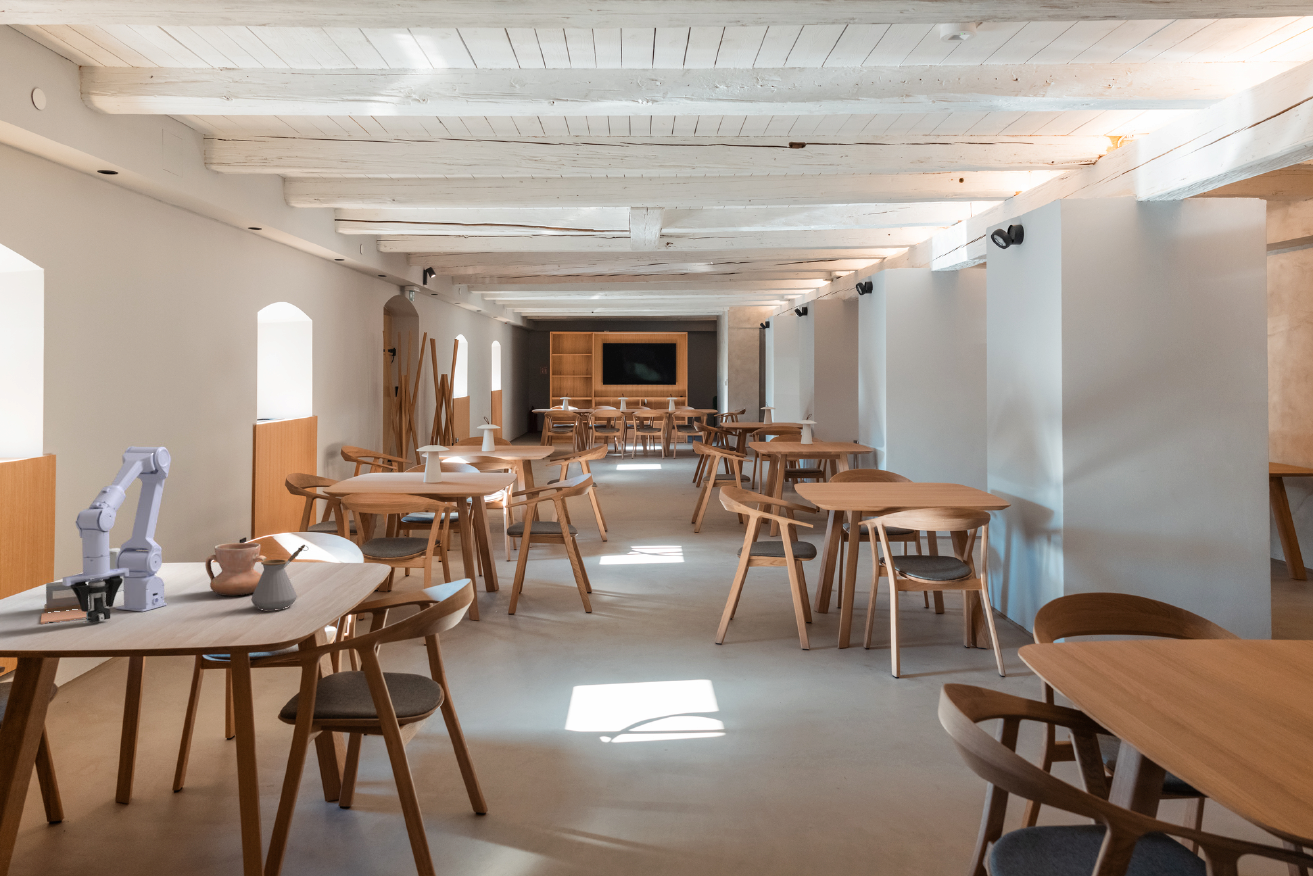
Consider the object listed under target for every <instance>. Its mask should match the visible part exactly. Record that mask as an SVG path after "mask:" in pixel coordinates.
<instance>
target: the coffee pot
mask: <svg viewBox="0 0 1313 876" xmlns="http://www.w3.org/2000/svg"><path fill="white" fill-rule="evenodd" d="M305 547H306V548H307V549H305ZM308 550H309V546H308V545H305V544H302V545H301V546H300V547H298V549H297V550H295V551H294V552H293V554H292V555H291V556H290V557H289V558H288V560H286V559H267V560H266V559H265V560H264V561H261V562H260V563H261V564H260V565H262V566H263V567H262V568H263V571H262V574H261V577H260V580H259V582H258V584H257V587H256V589H255V591H254V592H253V593H252V596H251V597H250V599H251V603H252V605H253V606H254V607H255V608H258V610H259V609H263V610H275V609H283V608H285V607H288V606H291V605H293V604H294V603H295V601H296V600H297V598H298V594H297V592H296V591H295V588H294V587H293V584H292V582H291V580H290V578H289V575H288V574H287V572H286V569H285V568H286V567H287V566H288V565H289V564H290V563H291V562H293V561H294V560H295V558H297V557H298V556H299V554H300V552H302V551H304V552H305V551H308ZM283 610H284V609H283Z"/></svg>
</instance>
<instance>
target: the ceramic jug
mask: <svg viewBox="0 0 1313 876" xmlns="http://www.w3.org/2000/svg"><path fill="white" fill-rule="evenodd" d="M260 551H261V544H260V543H256V542H234V543H233V542H232V543H222V544H221V543H220V544H218V545H217V544H216V545H215V546H214V554H212V555H209V556H208V557H207V558H206V559H205V563H204V566H205V571H206V573H207V575H208V577H209V579H210V583H209V587H210V589H211V591H212V592H214V593H215V594H219V595H222V596H227V597H231V596H232V597H233V596H234V597H237V596H238V595H239V596H245V594H246V595H250V594H253V593H254V591H255V589H256V587H257V584H258V582H259V580H260V577H261V575H262V574H261V573H260V572H258V571H256V570H255V569H254V567H255V565H256V563H257V562H259V561H261V562H263V561H266V559H267V556H265V555H260V553H261V552H260ZM212 561H215V562H217V563H218V565H219V567H220V569H221V572H219V574H217V575H216V576H215V574H214V571H213V569H212ZM239 596H238V597H239Z"/></svg>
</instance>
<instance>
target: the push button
mask: <svg viewBox="0 0 1313 876" xmlns="http://www.w3.org/2000/svg"><path fill="white" fill-rule="evenodd" d="M87 585H89V586H90V590H89V598H88V601H89V610H88V612H87V613H86V616H87V617H85V618H81V619H83V620H84V621H81V623H83V624H85V623H91V624H92V623H97V622H101V621H105V620H110V619H111V608H109V607H108V608H107V606H106V603H105V591H108V586H109V584H108V583H105V581H104V580H97V581H91V582H87ZM86 618H87V619H86Z"/></svg>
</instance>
